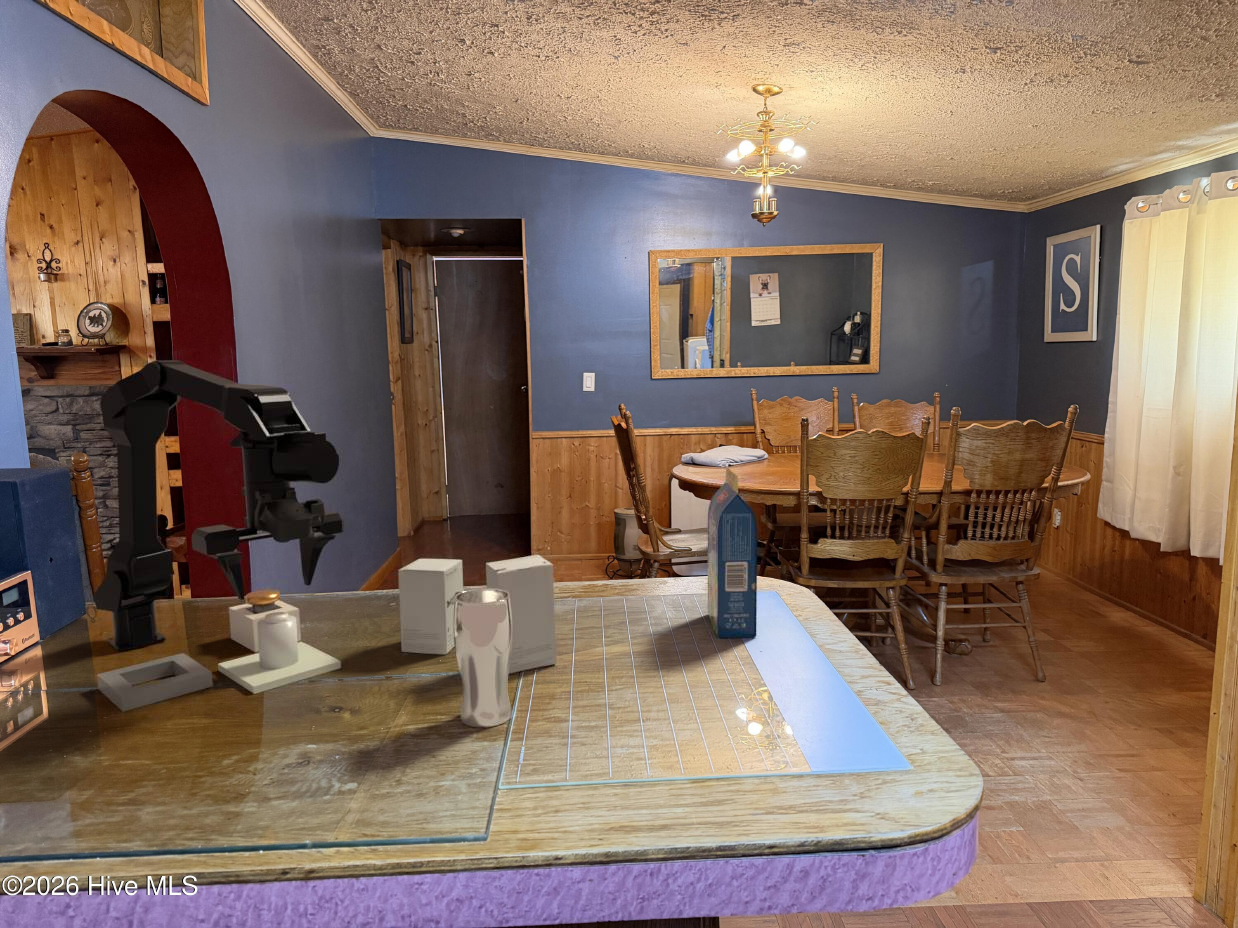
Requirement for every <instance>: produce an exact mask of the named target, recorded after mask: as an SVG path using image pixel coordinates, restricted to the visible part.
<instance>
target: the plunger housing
mask: <svg viewBox="0 0 1238 928" xmlns="http://www.w3.org/2000/svg"><path fill="white" fill-rule="evenodd" d="M274 612H287V613H288V615H289V616H294V617H296V624H297V642H301V641H302V637H301V636H302V635H301V633H302V632H301V621H300V620H301V619H300V609H299V608H298V607H295V606H294V605H291V604H289V603H286V602H284V601H282V600H280V599H279V600H278V601H276V602H275V610H272V611H267V612H263V613H259V614H254V613H253V611H252V605H250V604H247V603H244V604H243V603H242V604H239V605H235V606H234V605H233V606H230V607H228V613H229V614H228V615H229V626H230V627H229V628H230V629H229V630H230V639H231V640H233V641H234V642H236V643H238V644H240V645H241V646H243V647H245V648H247V649H248V650H251V651H252V652H254V653H259V645H258V628H257V622H258V621H259V620H261V619H264V618H265V615H267V614H270V613H274Z"/></svg>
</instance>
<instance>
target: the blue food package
mask: <svg viewBox="0 0 1238 928" xmlns="http://www.w3.org/2000/svg"><path fill="white" fill-rule="evenodd" d="M738 477H739V475H737V474H736V473H735V472H734V471H733V470H732V469H731V468H729V467H728V466H727V465H726V466H725V482H724V483H723V484H722V485H721V487H720V488H719V489H718V490H717V491H716V492H715V493H714V495H713V496H712V498H711V499H710V501H709V505H708V510H707V614H708V619H709V621H710V622H711V626H712V628H713V631H714V634H716V636H717V638H726V639H727V638H728V639H729V638H755V637H757V607H758V606H757V596H758V591H757V590H758V584H757V583H758V581H757V578H758V525H757V519H756V516H755V512H754V511H753V509H752V508H751V507H750V505H749V504H748V503H747V502H746V501H745V499H744V498H743V497H742V496H741V495H740V494H739V478H738Z"/></svg>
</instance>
